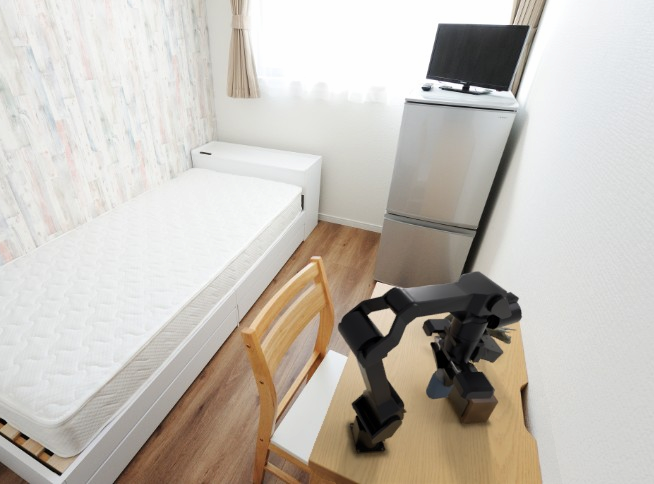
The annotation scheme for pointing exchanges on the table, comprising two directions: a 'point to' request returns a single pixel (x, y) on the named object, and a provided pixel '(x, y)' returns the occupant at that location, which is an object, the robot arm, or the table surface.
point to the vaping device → (438, 385)
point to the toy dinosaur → (494, 332)
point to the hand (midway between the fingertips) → (443, 380)
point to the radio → (472, 407)
